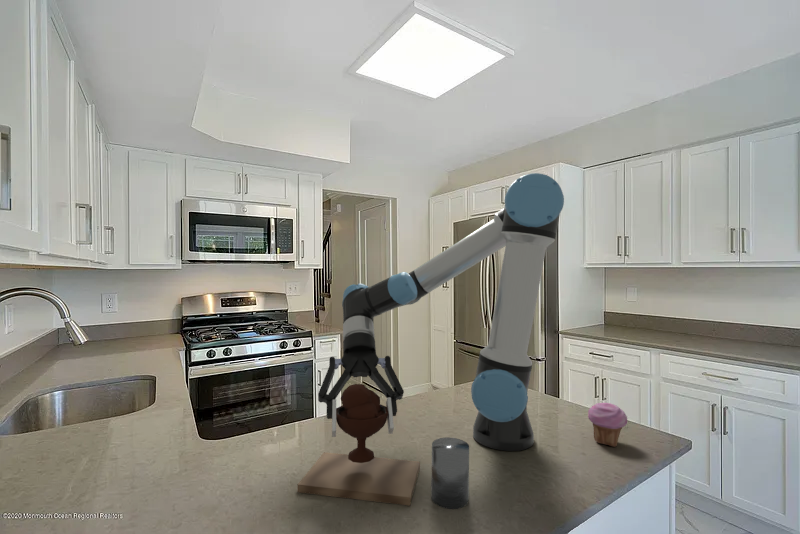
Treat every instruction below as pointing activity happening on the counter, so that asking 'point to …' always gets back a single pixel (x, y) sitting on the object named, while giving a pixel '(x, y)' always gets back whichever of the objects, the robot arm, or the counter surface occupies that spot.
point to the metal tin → (450, 473)
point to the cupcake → (607, 422)
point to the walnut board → (362, 479)
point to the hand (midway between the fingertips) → (363, 432)
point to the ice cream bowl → (361, 418)
